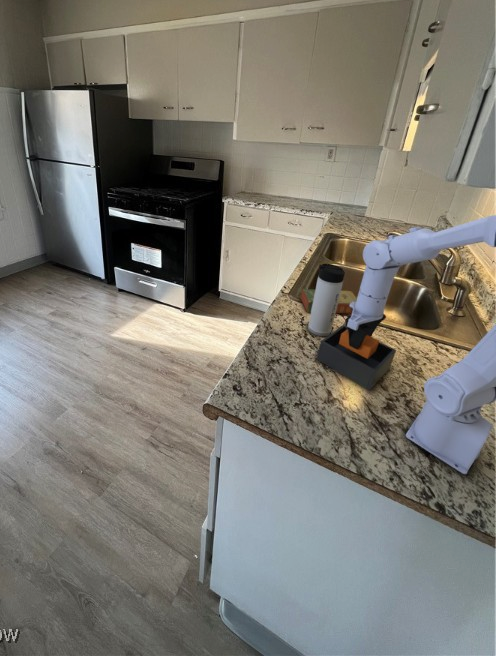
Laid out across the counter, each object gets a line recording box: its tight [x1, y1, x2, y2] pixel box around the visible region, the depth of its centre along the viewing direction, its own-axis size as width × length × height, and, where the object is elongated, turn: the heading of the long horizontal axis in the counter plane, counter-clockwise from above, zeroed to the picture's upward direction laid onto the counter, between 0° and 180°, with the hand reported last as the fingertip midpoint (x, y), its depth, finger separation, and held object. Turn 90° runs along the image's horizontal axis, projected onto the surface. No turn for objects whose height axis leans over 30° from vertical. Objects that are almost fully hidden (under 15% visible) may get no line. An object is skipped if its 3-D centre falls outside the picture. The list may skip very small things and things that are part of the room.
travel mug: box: [307, 262, 346, 337], centre depth 85 cm, size 6×7×20 cm
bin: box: [316, 324, 397, 392], centre depth 76 cm, size 13×11×6 cm
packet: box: [339, 329, 380, 359], centre depth 74 cm, size 7×4×3 cm, turn 41°
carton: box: [300, 288, 357, 315], centre depth 100 cm, size 8×16×4 cm, turn 89°
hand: (358, 342), depth 74 cm, fingers closed on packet, 4 cm apart
